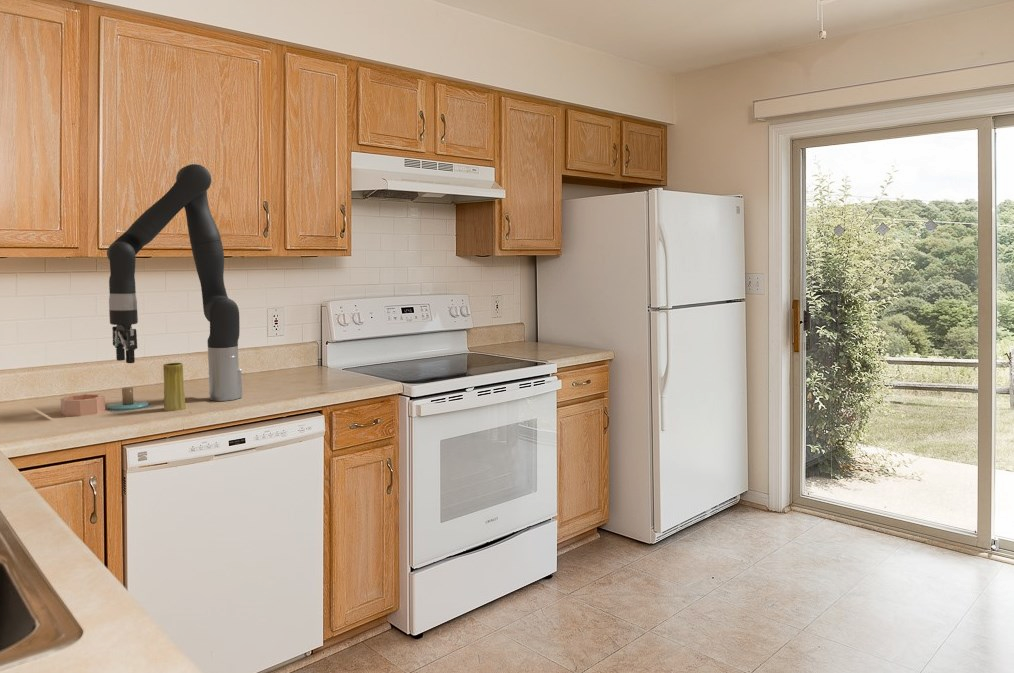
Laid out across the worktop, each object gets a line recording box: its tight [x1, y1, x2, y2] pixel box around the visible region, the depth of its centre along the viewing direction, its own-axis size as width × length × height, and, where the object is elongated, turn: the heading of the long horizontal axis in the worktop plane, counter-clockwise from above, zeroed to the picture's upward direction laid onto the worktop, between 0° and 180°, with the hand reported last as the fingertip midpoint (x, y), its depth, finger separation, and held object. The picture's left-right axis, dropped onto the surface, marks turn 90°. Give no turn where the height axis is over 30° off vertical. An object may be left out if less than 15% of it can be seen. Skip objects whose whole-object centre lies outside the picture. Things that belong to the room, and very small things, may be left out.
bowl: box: [60, 393, 106, 417], centre depth 216 cm, size 10×10×5 cm
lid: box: [107, 386, 149, 411], centre depth 223 cm, size 11×11×6 cm
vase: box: [162, 362, 187, 412], centre depth 220 cm, size 6×6×14 cm
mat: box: [105, 403, 156, 413], centre depth 223 cm, size 12×12×1 cm
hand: (125, 361), depth 222 cm, fingers open, 8 cm apart
